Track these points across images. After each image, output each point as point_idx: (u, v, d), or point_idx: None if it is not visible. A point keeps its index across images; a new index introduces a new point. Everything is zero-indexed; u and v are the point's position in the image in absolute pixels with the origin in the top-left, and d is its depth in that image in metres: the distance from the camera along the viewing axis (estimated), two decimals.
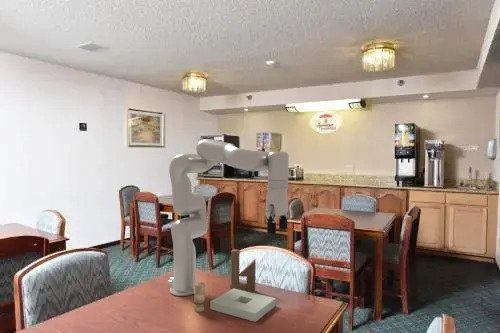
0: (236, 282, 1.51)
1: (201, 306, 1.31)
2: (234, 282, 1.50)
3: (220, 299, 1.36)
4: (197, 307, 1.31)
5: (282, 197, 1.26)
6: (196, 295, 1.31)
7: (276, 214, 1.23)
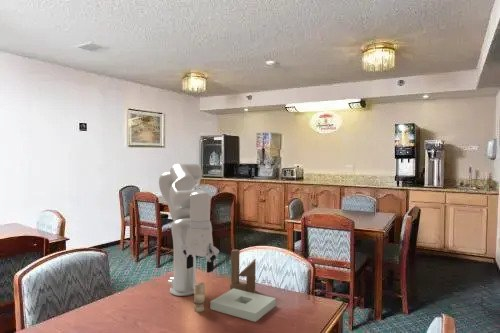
0: (236, 282, 1.51)
1: (201, 306, 1.31)
2: (234, 282, 1.50)
3: (220, 299, 1.36)
4: (197, 307, 1.31)
5: None
6: (196, 295, 1.31)
7: None
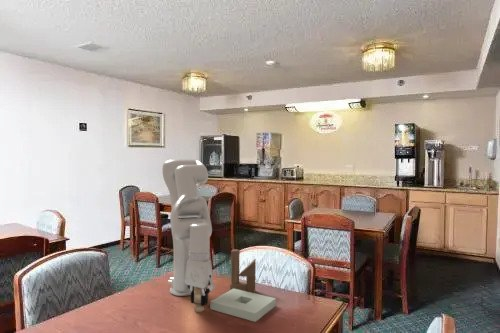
0: (236, 282, 1.51)
1: (201, 306, 1.31)
2: (234, 282, 1.50)
3: (220, 299, 1.36)
4: (197, 307, 1.31)
5: None
6: (196, 295, 1.31)
7: None
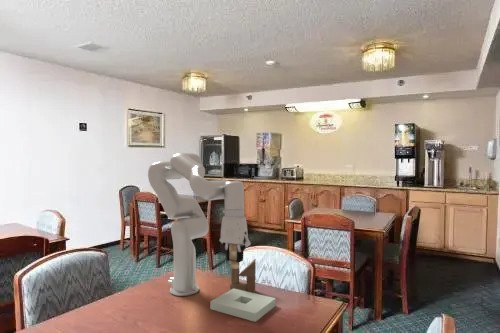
0: (236, 282, 1.51)
1: (237, 263, 1.32)
2: (234, 282, 1.50)
3: (220, 299, 1.36)
4: (232, 264, 1.32)
5: None
6: (232, 252, 1.32)
7: None
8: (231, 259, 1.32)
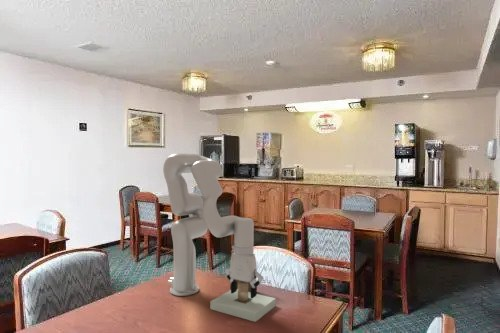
0: None
1: (245, 303, 1.34)
2: None
3: (220, 299, 1.36)
4: None
5: None
6: (240, 293, 1.33)
7: None
8: (240, 300, 1.33)
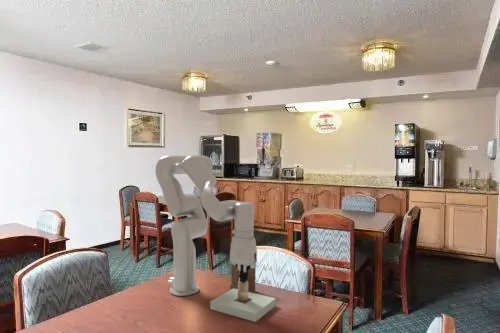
0: (236, 282, 1.51)
1: (245, 303, 1.34)
2: (234, 282, 1.50)
3: (220, 299, 1.36)
4: None
5: None
6: (240, 293, 1.33)
7: None
8: (240, 300, 1.33)
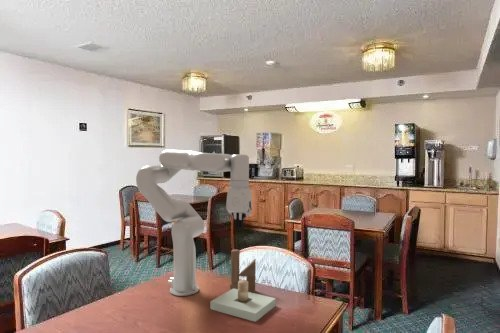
0: (236, 282, 1.51)
1: (245, 303, 1.34)
2: (234, 282, 1.50)
3: (220, 299, 1.36)
4: None
5: None
6: (240, 293, 1.33)
7: None
8: (240, 300, 1.33)
